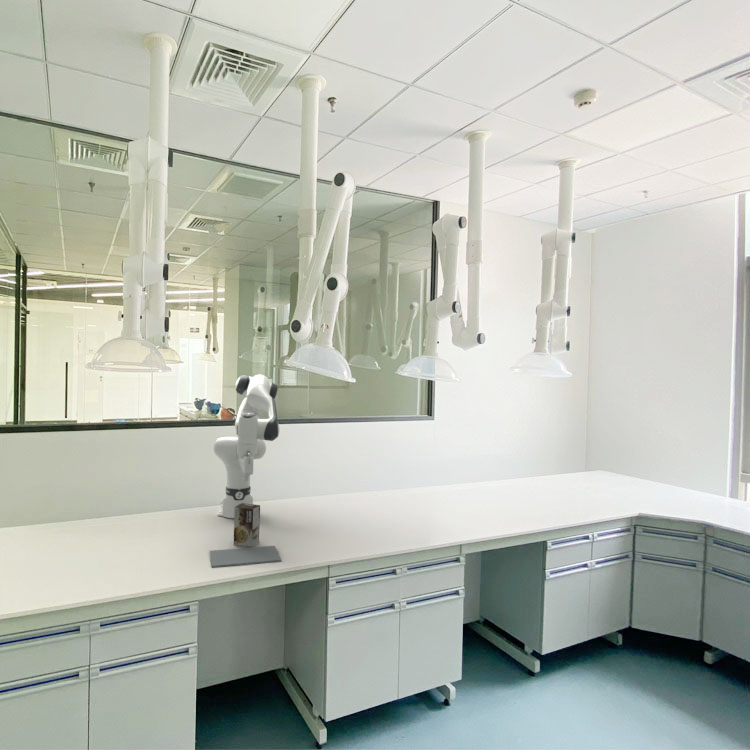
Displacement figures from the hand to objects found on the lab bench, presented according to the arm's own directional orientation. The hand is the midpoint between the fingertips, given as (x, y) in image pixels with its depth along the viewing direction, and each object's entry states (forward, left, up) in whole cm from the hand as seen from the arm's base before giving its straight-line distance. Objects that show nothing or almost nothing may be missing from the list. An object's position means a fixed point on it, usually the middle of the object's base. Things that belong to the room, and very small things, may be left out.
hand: (245, 480), depth 228 cm
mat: (+25, -2, -24) cm, 35 cm away
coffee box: (+10, 0, -25) cm, 27 cm away
